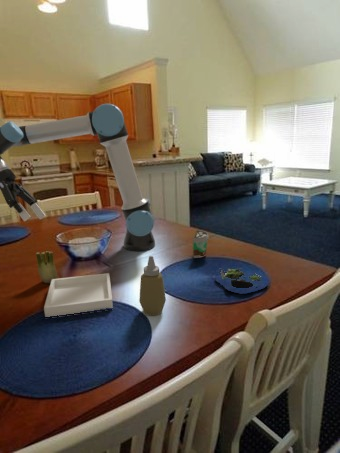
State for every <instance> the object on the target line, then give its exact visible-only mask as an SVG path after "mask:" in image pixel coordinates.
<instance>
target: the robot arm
mask: <svg viewBox="0 0 340 453" xmlns="http://www.w3.org/2000/svg"><path fill="white" fill-rule="evenodd" d="M124 119H125V118H124V114H123V112H122V110H121V109H120V107H119V106H117V105H114V104H113V103H108V102H107V103H103V104H100V105H98V106H97V107H96V108H95V109H94V111H89V112H87V114H86V115H80V116H75V117H70V118H69V117H68V118H64V119H63V118H62V119H57V120H52V121H46V122H45V121H44V122H39V123H34V124H28V125H22V126H21V125H20V126H18V125H17V124H16V123H15V122H13V121H10V120H9V121H7V122H6V123H4V124H2V125H1V126H0V191H1V193H2V196H3V198H4V201H5V202H6V204H7V206H8V207H9V208H11V209H12V208H13V209H14V210H15V211H16V212H17V214H18V215H19V217H20V218H21V219H22V220H23V222H27V221H28V220H29V219H30V218H31V215H30V214H29V213H28V211H27V209H26V208H25V207H24V206H23V205H22V204H21V202H19V201H18V197H19V198H20V199H21V200H22V201H24V202H25V203H26V204H27V205H29V208H31V210H32V211H33V213H34V214H35V215H36V217H37V218H38V219H39V220H42V219H43V218H45V217H46V214H45V212H44V211H43V210H42V209H41V207H40V206H39V205H38V204H37V202H38V200H37V199H36V198H35V197H34V196H33V195H32V194H31V193H30V192H29V191H28V190H27V189H26V188H24V186H23V185H22V184H21V183H20V182H18V183H17V182H16V181H15V180H16V179H17V175H16V174H15V173H14V172H13V170H12V169H11V168H10V166H9V165H8V164H7V162H6V161H5V160H4V159H3V158H2V155H3V154H4V153H6V152H7V151H8V150H9V149H11V148H13V147H14V148H15V147H22V146H27V145H31V144H38V143H43V142H49V141H56V140H61V139H67V138H72V137H78V136H85V135H92V136H97V138H98V140H99V143H100V145H102V146H103V147H105V151H106V153H107V156H108V159H109V162H110V166H111V169H112V172H113V175H114V178H115V181H116V184H117V187H118V190H119V194H120V196H121V200H122V202H123V204H122V206H121V207H120V208H121V210H122V214H123V217H124V221H125V229H126V232H125V235H124V240H123V248H124V249H126V250H127V251H132V252H133V251H134V252H143V251H148V250H151V249H153V248H155V246H156V241H155V236H154V235H153V234H154V233H153V232H152V231H153V228H154V227H155V226H154V225H155V218H154V216H153V214H152V211H151V201H150V199H149V198H145V197H144V196H143V193H142V190H141V186H140V182H139V180H138V177H137V172H136V169H135V166H134V164H133V159H132V156H131V153H130V149H129V146H128V142H127V140H128V137H129V133H128V129H127V126H126V122H125V120H124Z"/></svg>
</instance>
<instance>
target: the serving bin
mask: <svg viewBox="0 0 340 453" xmlns="http://www.w3.org/2000/svg"><path fill="white" fill-rule="evenodd" d="M49 284H50V285H49V288H48V292H47V295H46V300H45V302H44V306H43V311H44V312H43V313H44V316H45V317H50V316H57V315H58V316H59V315H66V314H74V313H80V312H87V311H94V310H100V309H106V308H113V309H114V307H113V305H114V304H113V296H112V295H113V294H112V293H113V292H112V286H111V278H110V272H107V273H106V272H105V273H98V274H89V275H88V274H87V275H81V276H80V275H79V276H77V275H76V276H70V277H69V276H68V277H60V278H59V277H58V278H56V279H52V281H51V283H49ZM74 315H75V314H74ZM59 317H60V316H59Z"/></svg>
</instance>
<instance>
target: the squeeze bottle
mask: <svg viewBox="0 0 340 453" xmlns="http://www.w3.org/2000/svg"><path fill="white" fill-rule="evenodd" d="M163 277H164V276H163V274H162V273H161V272H160V266H158V265H156V262H155V259H154V256H153V255H150V256H148V261H147V265H146V266H144V267H143V273H142V274H141V276H140V284H139V285H140V286H139V287H140V288H139V299H138V301H139V304H140V306H141V308H142V309H141V310H143V313H144V314H145V315H147V316H157V315H160V314H161V313H162V312H163V310H164V306H165V305H166V300H167V299H166V297H167V296H166V290H165V284H164V283H165V282H164V278H163Z"/></svg>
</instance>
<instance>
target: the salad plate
mask: <svg viewBox="0 0 340 453" xmlns="http://www.w3.org/2000/svg"><path fill="white" fill-rule="evenodd" d="M238 269H239V268H235V269H230V268H227V271H226V272H227V273H225V275H224V273H223V270H224V269H223V270H221V272H220V273H221V276H222V279H223V280H225V277H228V278H231V279H236V280H231V285H232V286H233V287H236V288H249V287H252V286H253V284H252V283H250V282H246V281H245V280H243V279H240V280H238V281H237V279H239V277H241V276H242V275H244V273H243V272H242V271H240V270H238ZM256 275H257V274H256ZM256 275H253V276H250V277H252V278H250V277H249V279H252V281H254V280H255V281H256V280H257V281H261V280H260V277H261V276H260V275H258V276H256ZM259 276H260V277H259Z"/></svg>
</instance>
